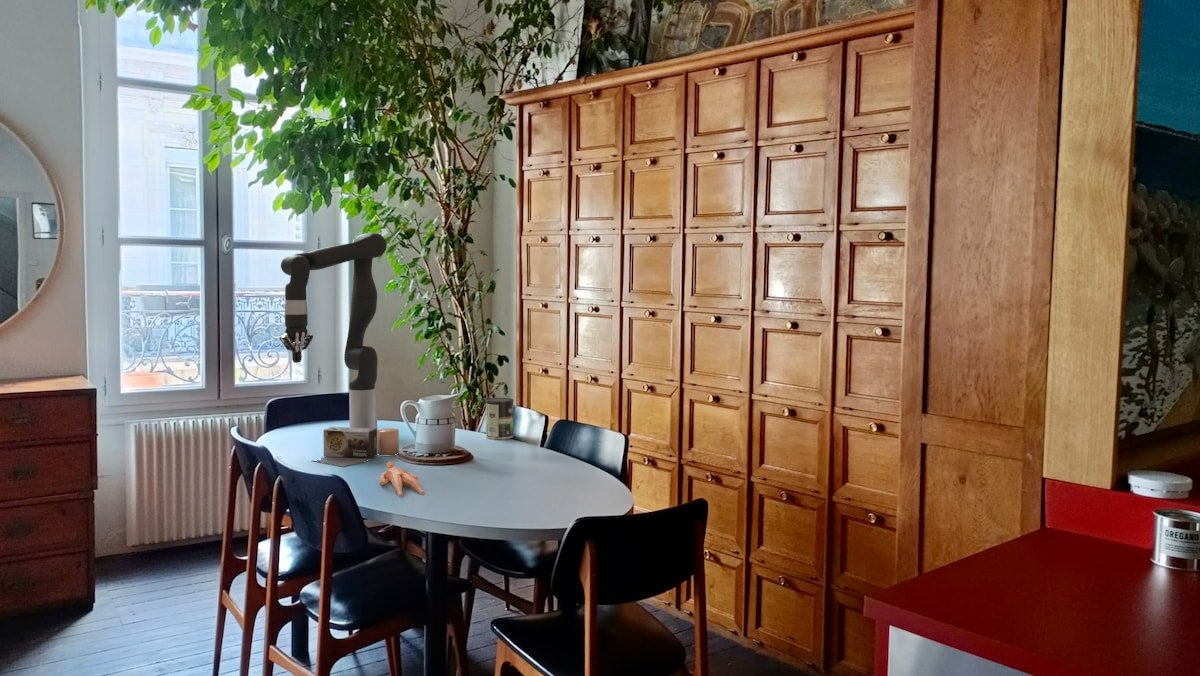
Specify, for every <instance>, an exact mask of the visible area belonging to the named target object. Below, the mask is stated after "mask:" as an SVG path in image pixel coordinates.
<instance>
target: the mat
mask: <svg viewBox="0 0 1200 676" xmlns="http://www.w3.org/2000/svg"><path fill="white" fill-rule="evenodd" d="M320 458H321V460H317V461H318V462H317V463H319V462H323V463H322V464H324V463H327V464H326V465H329V464H332V465H331V466H334V465H335V466H334V467H339V466H342V467H341V468H345V467H344V466H346V467H349V466H348V465H350V466H353V465H352V464H354V465H357V464H356V463H358V464H361V463H360V462H362V463H365V462H364V461H367V460H371V459H372V458H370V459H363V458H344V457H324V456H322V457H320ZM371 461H372V460H371ZM367 462H368V461H367Z"/></svg>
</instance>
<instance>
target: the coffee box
mask: <svg viewBox="0 0 1200 676" xmlns="http://www.w3.org/2000/svg"><path fill="white" fill-rule="evenodd" d="M377 430H378V428H377V429H367V428H350V427H345V426H344V427H343V426H329V427H327V428H325V429H323V430H322V431H323V435H322V436H323V457H344V458H363V459H372V458H373V457H376V456H378V455H377Z"/></svg>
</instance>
